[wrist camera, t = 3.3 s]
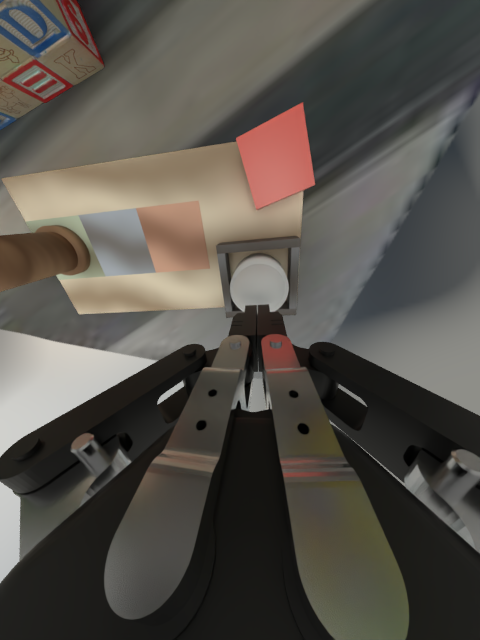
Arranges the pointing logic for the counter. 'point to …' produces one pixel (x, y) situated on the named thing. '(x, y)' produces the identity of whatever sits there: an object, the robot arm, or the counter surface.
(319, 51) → the counter surface
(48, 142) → the counter surface
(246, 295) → the dome
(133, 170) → the board
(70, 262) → the pawn
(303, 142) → the red cube
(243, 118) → the counter surface
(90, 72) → the stack of blocks
